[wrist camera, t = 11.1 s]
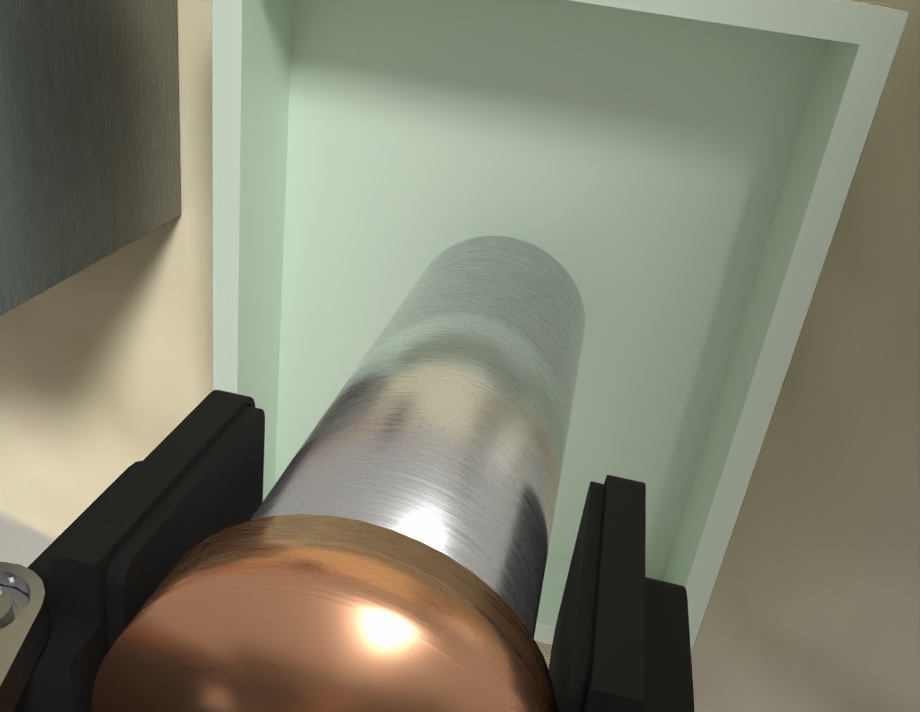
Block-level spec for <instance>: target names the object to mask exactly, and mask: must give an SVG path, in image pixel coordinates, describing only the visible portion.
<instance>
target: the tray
mask: <svg viewBox="0 0 920 712" xmlns="http://www.w3.org/2000/svg"><path fill="white" fill-rule="evenodd" d="M908 15H909V12H908V11H903V10H899V9H894V8H889V7H885V6H880V5H875V4H871V3H866V2H860V1H853V0H212V142H213V391H214V390H222V391H226V392H231V393H236V394H240V395H245V396H249V397H252V398H253V399H254V402H255V408H260V409H263V410H264V413H265V442H264V476H263V501H264V500H265V498H266V497H267V495H268V494H269V492H270V491H271V489H272V488H273V487H274V485H275V484H276V482H277V481H278V479H279V478H280V477H281V475H282V474H283V472H284V471H285V469H286V468H287V467H288V465H289V464H290V462H291V461H292V459H293V458H294V457H295V455H296V454H297V452H298V451H299V449H300V448H301V447H302V445H303V444H304V442H305V441H306V439H307V438H308V437H309V435H310V434H311V432H312V431H313V429H314V428H315V427H316V425H317V424H318V422H319V421H320V419H321V418H322V417H323V415H324V414H325V412H326V411H327V409H328V408H329V407H330V405H331V404H332V402H333V401H334V399H335V398H336V397H337V395H338V394H339V392H340V391H341V389H342V388H343V387H344V385H345V384H346V382H347V381H348V379H349V378H350V377H351V375H352V374H353V372H354V371H355V369H356V368H357V367H358V365H359V364H360V362H361V361H362V359H363V358H364V357H365V355H366V354H367V352H368V351H369V349H370V348H371V347H372V345H373V344H374V342H375V341H376V339H377V338H378V337H379V335H380V334H381V332H382V331H383V329H384V328H385V327H386V325H387V324H388V322H389V321H390V319H391V318H392V317H393V315H394V314H395V312H396V311H397V309H398V308H399V307H400V305H401V304H402V302H403V301H404V299H405V298H406V296H407V295H408V294H409V292H410V291H411V289H412V288H413V286H414V285H415V284H416V282H417V281H418V279H419V278H420V276H421V275H422V274H423V272H424V271H425V269H426V268H427V266H428V265H429V264H430V263H431V262H432V261H433V260H434V259H435V258H436V257H437V256H438V255H439V254H441V253H442V252H443V251H444V250H446V249H448V248H449V247H451V246H453V245H455V244H457V243H459V242H462V241H464V240H468V239H471V238H475V237H482V236H504V237H511V238H515V239H519V240H523V241H525V242H528V243H530V244H533V245H535V246H537V247H538V248H540V249H542V250H544V251H545V252H547V253H548V254H549V255H551V256H552V257H554V258H555V259H556V260H557V261H558V262H559V263H560V264H561V265H562V266H563V267H564V268H565V270H566V271H567V272H568V273H569V275H570V276H571V278H572V279H573V281H574V283H575V284H576V286H577V289H578V291H579V293H580V296H581V299H582V303H583V307H584V314H585V330H584V337H583V343H582V349H581V355H580V361H579V367H578V373H577V379H576V385H575V392H574V398H573V404H572V410H571V416H570V422H569V428H568V434H567V440H566V446H565V452H564V458H563V464H562V470H561V476H560V483H559V489H558V495H557V501H556V507H555V513H554V519H553V525H552V531H551V537H550V543H549V549H548V555H547V561H546V567H545V574H544V580H543V586H542V592H541V598H540V604H539V610H538V616H537V622H536V628H535V634H534V640H535V641H537V642H541V643H546V644H550V645H552V643H553V637H554V632H555V627H556V622H557V618H558V614H559V610H560V605H561V601H562V597H563V593H564V589H565V584H566V580H567V576H568V572H569V568H570V563H571V559H572V555H573V551H574V547H575V543H576V538H577V534H578V530H579V526H580V522H581V517H582V513H583V509H584V505H585V501H586V496H587V492H588V488H589V485H590V482H591V481H592V482H597V483H601V484H604V482H605V479H606V476H607V475H612V476H616V477H621V478H625V479H630V480H635V481H639V482H644V483H645V485H646V543H645V577H647V578H652V579H656V580H660V581H665V582H669V583H673V584H678V585H682V586H684V587H685V588H686V591H687V599H688V615H689V632H690V648H691V652H692V649H693V646H694V644H695V641H696V638H697V635H698V632H699V629H700V626H701V623H702V620H703V617H704V614H705V611H706V608H707V605H708V602H709V599H710V597H711V594H712V591H713V588H714V585H715V582H716V579H717V576H718V573H719V570H720V567H721V564H722V561H723V558H724V555H725V552H726V550H727V547H728V544H729V541H730V538H731V535H732V532H733V529H734V526H735V523H736V520H737V517H738V514H739V511H740V508H741V506H742V503H743V500H744V497H745V494H746V491H747V488H748V485H749V482H750V479H751V476H752V473H753V470H754V467H755V464H756V461H757V459H758V456H759V453H760V450H761V447H762V444H763V441H764V438H765V435H766V432H767V429H768V426H769V423H770V420H771V417H772V414H773V412H774V409H775V406H776V403H777V400H778V397H779V394H780V391H781V388H782V385H783V382H784V379H785V376H786V373H787V370H788V367H789V365H790V362H791V359H792V356H793V353H794V350H795V347H796V344H797V341H798V338H799V335H800V332H801V329H802V326H803V323H804V320H805V318H806V315H807V312H808V309H809V306H810V303H811V300H812V297H813V294H814V291H815V288H816V285H817V282H818V279H819V276H820V273H821V271H822V268H823V265H824V262H825V259H826V256H827V253H828V250H829V247H830V244H831V241H832V238H833V235H834V232H835V229H836V227H837V224H838V221H839V218H840V215H841V212H842V209H843V206H844V203H845V200H846V197H847V194H848V191H849V188H850V185H851V182H852V180H853V177H854V174H855V171H856V168H857V165H858V162H859V159H860V156H861V153H862V150H863V147H864V144H865V141H866V138H867V135H868V133H869V130H870V127H871V124H872V121H873V118H874V115H875V112H876V109H877V106H878V103H879V100H880V97H881V94H882V91H883V88H884V86H885V83H886V80H887V77H888V74H889V71H890V68H891V65H892V62H893V59H894V56H895V53H896V50H897V47H898V44H899V41H900V39H901V36H902V33H903V30H904V27H905V24H906V21H907V18H908Z"/></svg>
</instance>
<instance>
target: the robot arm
mask: <svg viewBox="0 0 920 712" xmlns="http://www.w3.org/2000/svg"><path fill="white" fill-rule="evenodd" d="M264 442H265V413H264V410H263V409H260V408H255V402H254V399H253V398H252V397H249V396H245V395H240V394H236V393H231V392H226V391H222V390H214V391H212V392H211V393H210V394H209V395H208V396H207V397H206V398H205V399H204V400H203V401H202V402H201V403H200V404H199V405H198V406H197V407H196V408H195V409H194V410H193V411H192V412H191V413H190V414H189V415H188V416H187V417H186V418H185V419H184V420H183V421H182V422H181V423H180V424H179V425H178V426H177V427H176V428H175V429H174V430H173V431H172V432H171V433H170V434H169V435H168V436H167V437H166V438H165V439H164V440H163V441H162V442H161V443H160V444H159V445H158V446H157V447H156V448H155V449H154V450H153V451H152V452H151V453H150V454H149V455H148V456H147V457H146V458H145V459H144V460H143V461H139V462H135V463H134V464H132V465H131V466H130V467H128V468H127V469H126V470H125V471H124V472H123V473H122V474H121V475H120V476H119V477H118V478H117V479H116V480H115V481H114V482H113V483H112V484H111V485H110V486H109V487H108V488H107V489H106V490H105V491H104V492H103V493H102V494H101V495H100V496H99V497H98V498H97V499H96V500H95V501H94V502H93V503H92V504H91V505H90V506H89V507H88V508H87V509H86V510H85V511H84V512H83V513H82V514H81V515H80V516H79V517H78V518H77V519H76V520H75V521H74V522H73V523H72V524H71V525H70V526H69V527H68V528H67V529H66V530H65V531H64V532H63V533H62V534H61V535H60V536H59V537H58V538H57V539H56V540H55V541H54V542H53V543H52V544H51V545H50V546H49V547H48V548H47V549H46V550H45V551H44V552H43V553H42V554H41V555H40V556H39V557H38V558H37V559H36V560H35V561H34V562H33V563H32V564H31V565H30V566H29V567H28V568H26V567H24V566H22V565H18V564H12V563H6V562H0V712H92V694H93V689H94V683H95V679H96V676H97V674H98V671H99V669H100V666H101V664H102V661H103V660H104V658H105V656H106V655H107V653H108V652H109V650H110V649H111V647H112V646H113V644H114V643H115V642H116V640H117V639H118V638H119V636H120V635H121V634H122V632H123V631H124V630H125V629H126V627H127V626H128V625H129V623H130V622H131V621H132V620H133V618H134V617H135V616H136V614H137V613H138V612H139V610H140V609H141V608H142V607H143V605H144V604H145V603H146V601H147V600H148V599H149V597H150V596H151V595H152V594H153V592H154V591H155V590H156V588H157V587H158V586H159V585H160V583H161V582H162V581H163V579H164V578H165V577H166V575H167V574H168V573H169V572H170V570H171V569H172V568H173V566H174V565H175V564H176V563H177V562H178V561H179V560H180V559H181V558H182V557H183V556H184V555H185V554H186V553H187V552H188V551H189V550H190V549H192V548H193V547H194V546H196V545H197V544H199V543H200V542H201V541H203V540H204V539H205V538H207V537H209V536H211V535H213V534H215V533H217V532H219V531H221V530H223V529H225V528H227V527H230V526H233V525H236V524H240V523H243V522H246V521H249V520H251V518H252V517H253V515H254V514H255V512H256V511H257V510H258V508H259V507H260V505H261V504H262V502H263V476H264ZM645 543H646V485H645V483H644V482H639V481H635V480H630V479H625V478H621V477H616V476H612V475H607V476H606V479H605V482H604V484H601V483H597V482H592V481H591V482H590V485H589V488H588V492H587V496H586V501H585V505H584V509H583V513H582V517H581V522H580V526H579V530H578V534H577V538H576V543H575V547H574V551H573V555H572V559H571V563H570V568H569V572H568V576H567V580H566V584H565V589H564V593H563V597H562V601H561V605H560V610H559V614H558V618H557V622H556V627H555V632H554V637H553V643H552V650H551V657H550V664H549V673H550V675H551V678H552V682H553V687H554V692H555V697H556V712H694V697H693V680H692V664H691V648H690V632H689V615H688V599H687V591H686V588H685V587H684V586H682V585H678V584H673V583H669V582H665V581H660V580H656V579H652V578H647V577H645Z"/></svg>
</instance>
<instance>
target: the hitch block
mask: <svg viewBox="0 0 920 712" xmlns="http://www.w3.org/2000/svg"><path fill="white" fill-rule="evenodd" d="M179 215H181V184H180V132H179V80H178V28H177V0H0V315H2V314H4V313H6V312H8V311H9V310H11V309H13V308H15V307H16V306H18V305H20V304H22V303H24V302H25V301H27V300H29V299H31V298H33V297H34V296H36V295H38V294H40V293H42V292H43V291H45V290H47V289H49V288H50V287H52V286H54V285H56V284H58V283H59V282H61V281H63V280H65V279H67V278H68V277H70V276H72V275H74V274H76V273H77V272H79V271H81V270H83V269H84V268H86V267H88V266H90V265H92V264H93V263H95V262H97V261H99V260H101V259H102V258H104V257H106V256H108V255H110V254H111V253H113V252H115V251H117V250H119V249H120V248H122V247H124V246H126V245H127V244H129V243H131V242H133V241H135V240H136V239H138V238H140V237H142V236H144V235H145V234H147V233H149V232H151V231H153V230H154V229H156V228H158V227H160V226H161V225H163V224H165V223H167V222H169V221H170V220H172V219H174V218H176V217H178V216H179Z"/></svg>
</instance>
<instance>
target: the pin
mask: <svg viewBox="0 0 920 712" xmlns="http://www.w3.org/2000/svg"><path fill="white" fill-rule="evenodd" d="M584 330H585V314H584V307H583V303H582V299H581V296H580V293H579V291H578V289H577V286H576V284H575V283H574V281H573V279H572V278H571V276H570V275H569V273H568V272H567V271H566V270H565V268H564V267H563V266H562V265H561V264H560V263H559V262H558V261H557V260H556V259H555V258H554V257H552V256H551V255H549V254H548V253H547V252H545V251H544V250H542V249H540V248H538V247H537V246H535V245H533V244H530V243H528V242H525V241H523V240H519V239H515V238H511V237H504V236H482V237H475V238H471V239H468V240H464V241H462V242H459V243H457V244H455V245H453V246H451V247H449V248H448V249H446V250H444V251H443V252H442V253H441V254H439V255H438V256H437V257H436V258H435V259H434V260H433V261H432V262H431V263H430V264H429V265H428V266H427V268H426V269H425V271H424V272H423V274H422V275H421V276H420V278H419V279H418V281H417V282H416V284H415V285H414V286H413V288H412V289H411V291H410V292H409V294H408V295H407V296H406V298H405V299H404V301H403V302H402V304H401V305H400V307H399V308H398V309H397V311H396V312H395V314H394V315H393V317H392V318H391V319H390V321H389V322H388V324H387V325H386V327H385V328H384V329H383V331H382V332H381V334H380V335H379V337H378V338H377V339H376V341H375V342H374V344H373V345H372V347H371V348H370V349H369V351H368V352H367V354H366V355H365V357H364V358H363V359H362V361H361V362H360V364H359V365H358V367H357V368H356V369H355V371H354V372H353V374H352V375H351V377H350V378H349V379H348V381H347V382H346V384H345V385H344V387H343V388H342V389H341V391H340V392H339V394H338V395H337V397H336V398H335V399H334V401H333V402H332V404H331V405H330V407H329V408H328V409H327V411H326V412H325V414H324V415H323V417H322V418H321V419H320V421H319V422H318V424H317V425H316V427H315V428H314V429H313V431H312V432H311V434H310V435H309V437H308V438H307V439H306V441H305V442H304V444H303V445H302V447H301V448H300V449H299V451H298V452H297V454H296V455H295V457H294V458H293V459H292V461H291V462H290V464H289V465H288V467H287V468H286V469H285V471H284V472H283V474H282V475H281V477H280V478H279V479H278V481H277V482H276V484H275V485H274V487H273V488H272V489H271V491H270V492H269V494H268V495H267V497H266V498H265V500H264V501H263V502H262V504H261V505H260V507H259V508H258V510H257V511H256V512H255V514H254V515H253V517H252V518H251V520H249V521H246V522H243V523H240V524H236V525H233V526H230V527H227V528H225V529H223V530H221V531H219V532H217V533H215V534H213V535H211V536H209V537H207V538H205V539H204V540H203V541H201V542H200V543H199V544H197V545H196V546H194V547H193V548H192V549H190V550H189V551H188V552H187V553H186V554H185V555H184V556H183V557H182V558H181V559H180V560H179V561H178V562H177V563H176V564H175V565H174V566H173V568H172V569H171V570H170V572H169V573H168V574H167V575H166V577H165V578H164V579H163V581H162V582H161V583H160V585H159V586H158V587H157V588H156V590H155V591H154V592H153V594H152V595H151V596H150V597H149V599H148V600H147V601H146V603H145V604H144V605H143V607H142V608H141V609H140V610H139V612H138V613H137V614H136V616H135V617H134V618H133V620H132V621H131V622H130V623H129V625H128V626H127V627H126V629H125V630H124V631H123V632H122V634H121V635H120V636H119V638H118V639H117V640H116V642H115V643H114V644H113V646H112V647H111V649H110V650H109V652H108V653H107V655H106V656H105V658H104V660H103V661H102V664H101V666H100V669H99V671H98V674H97V676H96V679H95V683H94V689H93V694H92V712H556V697H555V692H554V687H553V682H552V678H551V675H550V673H549V670H548V667H547V664H546V662H545V659H544V656H543V655H542V653H541V651H540V649H539V647H538V646H537V644H536V642H535V640H534V634H535V628H536V622H537V616H538V610H539V604H540V598H541V592H542V586H543V580H544V574H545V567H546V561H547V555H548V549H549V543H550V537H551V531H552V525H553V519H554V513H555V507H556V501H557V495H558V489H559V483H560V476H561V470H562V464H563V458H564V452H565V446H566V440H567V434H568V428H569V422H570V416H571V410H572V404H573V398H574V392H575V385H576V379H577V373H578V367H579V361H580V355H581V349H582V343H583V337H584Z"/></svg>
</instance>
